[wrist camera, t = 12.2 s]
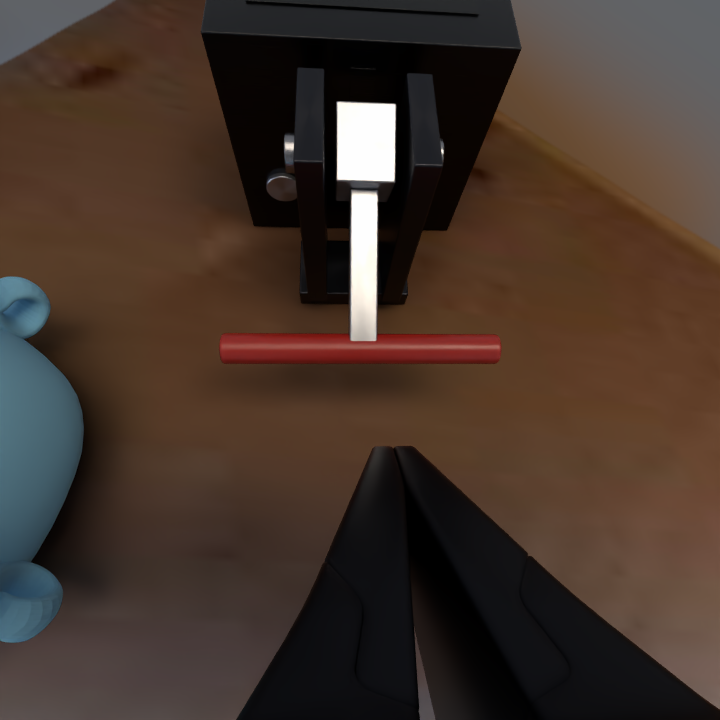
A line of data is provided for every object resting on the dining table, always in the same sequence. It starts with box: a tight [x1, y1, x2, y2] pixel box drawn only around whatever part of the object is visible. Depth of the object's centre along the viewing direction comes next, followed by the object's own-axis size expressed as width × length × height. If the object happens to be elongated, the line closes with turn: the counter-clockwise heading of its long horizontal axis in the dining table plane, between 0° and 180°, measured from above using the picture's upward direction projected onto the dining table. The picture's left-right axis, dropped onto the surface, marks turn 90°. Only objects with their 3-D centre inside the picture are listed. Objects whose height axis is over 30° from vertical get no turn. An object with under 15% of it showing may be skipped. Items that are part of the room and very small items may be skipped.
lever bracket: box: [284, 68, 444, 304], centre depth 20 cm, size 4×6×11 cm
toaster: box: [201, 0, 521, 230], centre depth 22 cm, size 7×12×11 cm, turn 91°
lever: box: [219, 101, 501, 364], centre depth 16 cm, size 10×11×2 cm
